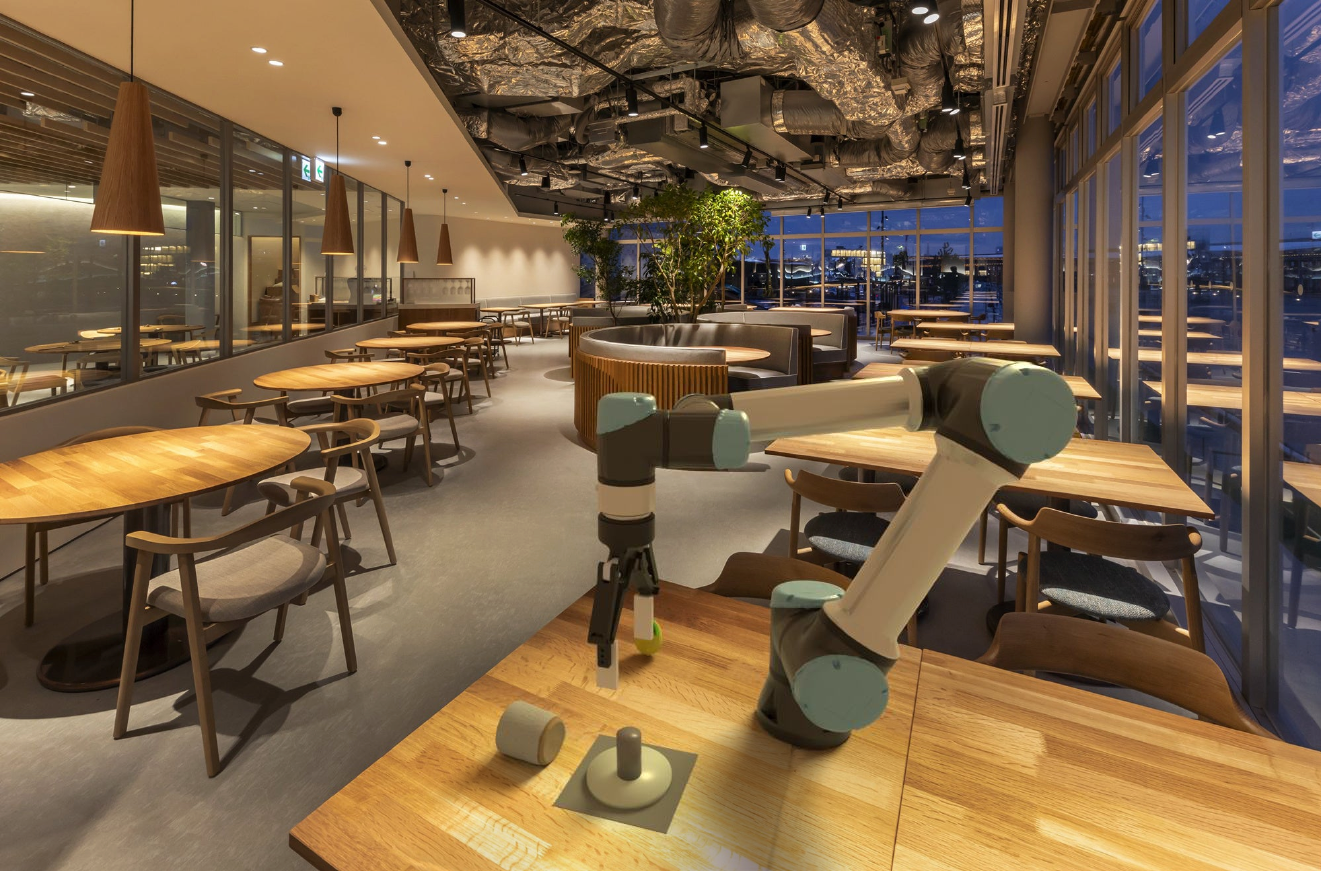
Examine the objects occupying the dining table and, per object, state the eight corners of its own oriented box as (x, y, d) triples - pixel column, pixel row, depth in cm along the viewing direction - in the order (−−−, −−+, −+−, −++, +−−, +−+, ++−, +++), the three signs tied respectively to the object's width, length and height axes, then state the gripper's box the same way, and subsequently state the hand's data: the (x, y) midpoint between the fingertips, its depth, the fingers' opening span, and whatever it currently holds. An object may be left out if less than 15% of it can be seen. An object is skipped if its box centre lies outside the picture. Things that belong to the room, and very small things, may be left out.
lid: (681, 760, 98) (682, 717, 97) (656, 818, 87) (656, 771, 86) (606, 744, 102) (605, 702, 101) (572, 798, 91) (571, 752, 89)
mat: (698, 757, 100) (698, 754, 100) (666, 836, 85) (666, 833, 85) (599, 737, 105) (599, 734, 104) (552, 808, 90) (552, 805, 90)
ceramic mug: (541, 779, 95) (540, 730, 94) (494, 763, 99) (492, 716, 97) (579, 737, 105) (579, 692, 104) (536, 724, 108) (534, 680, 107)
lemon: (634, 646, 133) (634, 598, 131) (664, 647, 132) (664, 600, 130) (630, 663, 126) (629, 614, 124) (661, 665, 126) (660, 615, 124)
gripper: (633, 485, 100) (633, 617, 104) (556, 538, 77) (560, 705, 81) (681, 490, 98) (679, 624, 102) (617, 546, 75) (618, 718, 79)
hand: (626, 661), depth 91 cm, fingers open, 13 cm apart
